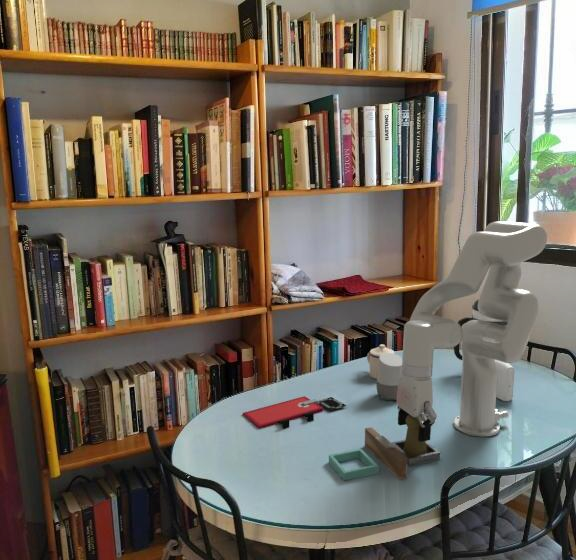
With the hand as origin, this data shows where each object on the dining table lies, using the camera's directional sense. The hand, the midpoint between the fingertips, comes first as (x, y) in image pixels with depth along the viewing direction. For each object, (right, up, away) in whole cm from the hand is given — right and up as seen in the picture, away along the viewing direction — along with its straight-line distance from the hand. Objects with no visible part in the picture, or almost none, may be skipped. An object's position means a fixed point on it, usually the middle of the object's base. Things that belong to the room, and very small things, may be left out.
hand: (413, 432), depth 142 cm
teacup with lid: (+1, +5, +58) cm, 58 cm away
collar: (-16, -8, -4) cm, 18 cm away
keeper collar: (+1, -6, +2) cm, 7 cm away
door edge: (-8, -7, -1) cm, 11 cm away
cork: (+1, -7, +2) cm, 7 cm away
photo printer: (+36, +1, +38) cm, 53 cm away
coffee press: (+39, +5, +58) cm, 70 cm away
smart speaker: (+1, +1, +38) cm, 38 cm away
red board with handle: (-30, -2, +28) cm, 41 cm away
